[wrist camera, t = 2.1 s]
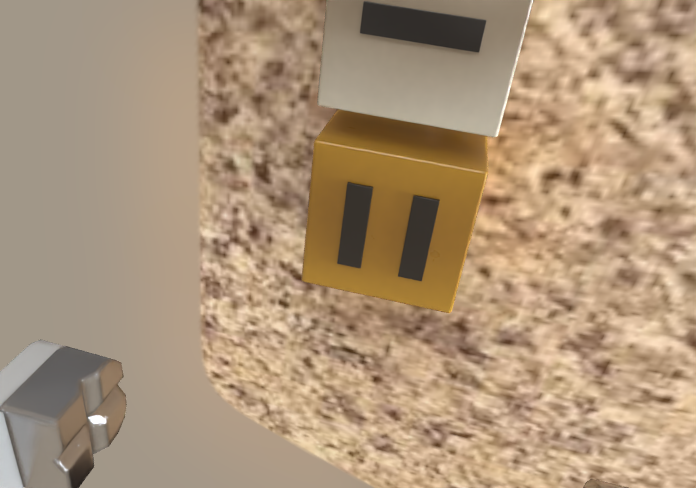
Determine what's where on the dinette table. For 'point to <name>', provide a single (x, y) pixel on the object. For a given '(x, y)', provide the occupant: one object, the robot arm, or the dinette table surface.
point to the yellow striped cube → (392, 208)
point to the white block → (423, 60)
